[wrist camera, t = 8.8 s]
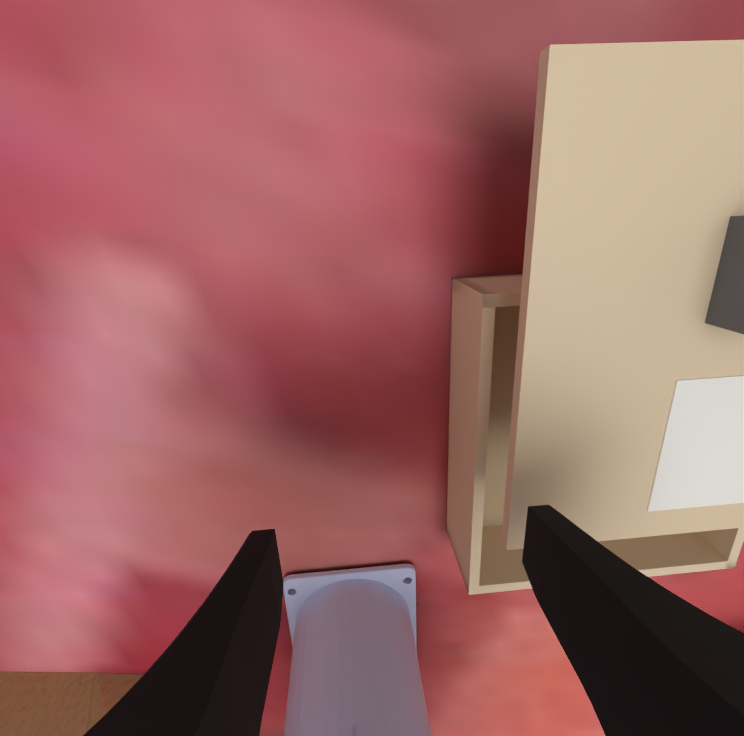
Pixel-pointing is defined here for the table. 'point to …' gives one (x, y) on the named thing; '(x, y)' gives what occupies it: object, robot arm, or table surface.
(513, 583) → the carton
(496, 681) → the table surface
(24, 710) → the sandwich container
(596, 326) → the carton lid
